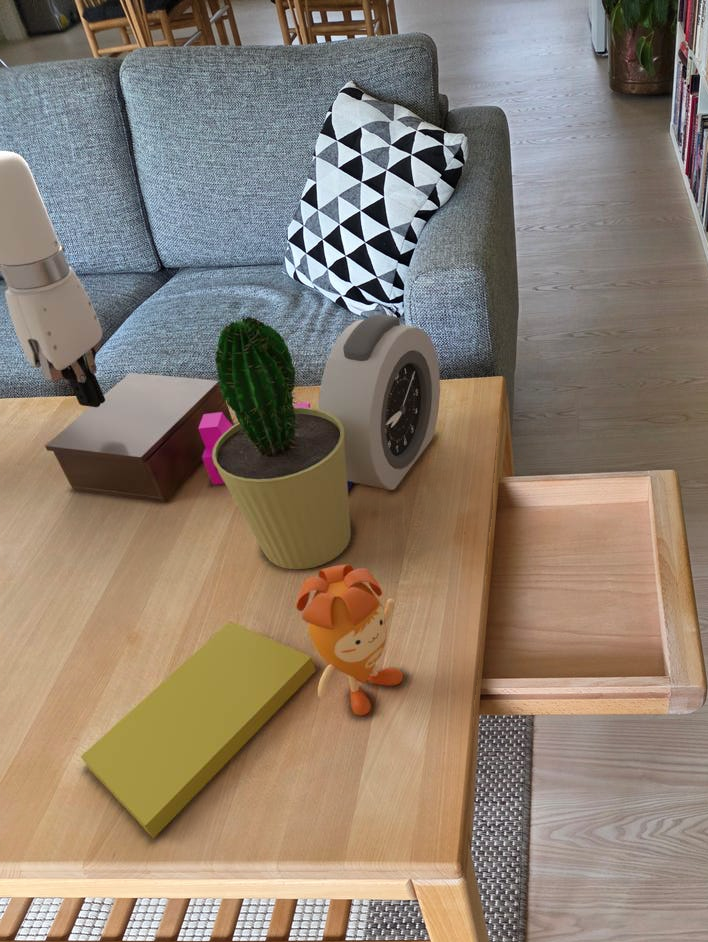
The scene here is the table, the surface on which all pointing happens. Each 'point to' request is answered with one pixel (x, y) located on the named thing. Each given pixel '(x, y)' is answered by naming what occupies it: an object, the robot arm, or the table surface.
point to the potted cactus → (279, 451)
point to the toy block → (211, 432)
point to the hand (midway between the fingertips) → (92, 403)
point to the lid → (134, 417)
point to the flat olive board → (195, 723)
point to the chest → (146, 463)
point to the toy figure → (348, 628)
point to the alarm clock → (382, 397)
